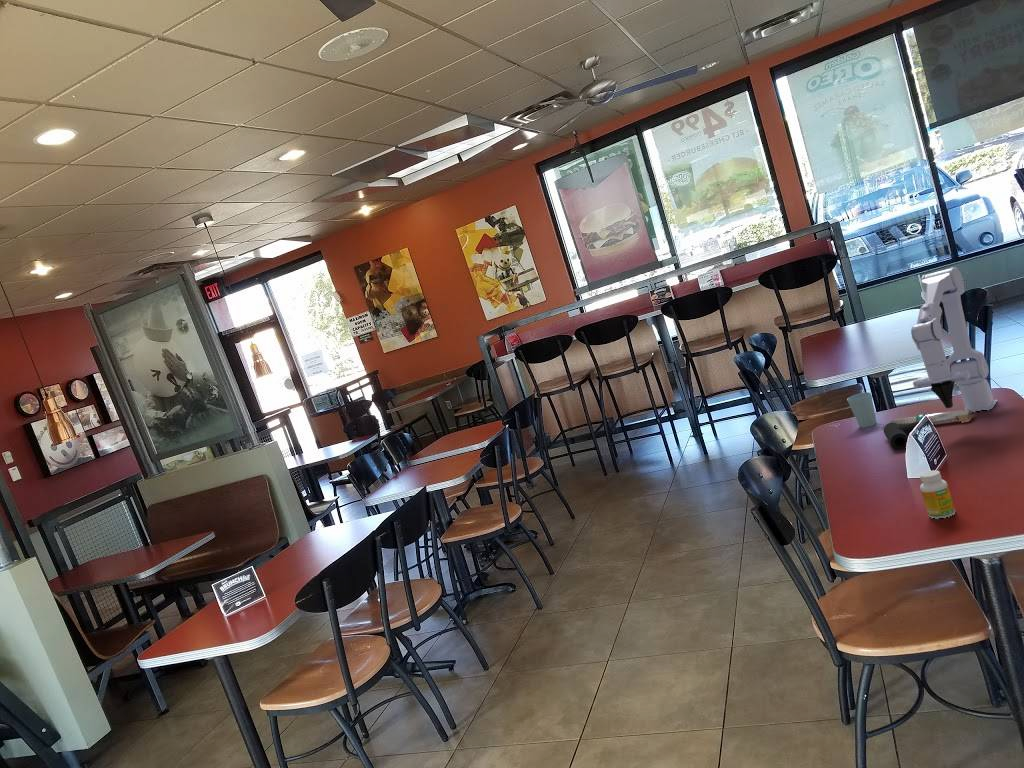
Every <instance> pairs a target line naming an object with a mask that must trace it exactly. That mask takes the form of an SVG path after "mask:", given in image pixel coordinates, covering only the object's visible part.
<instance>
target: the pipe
mask: <svg viewBox="0 0 1024 768" xmlns="http://www.w3.org/2000/svg"><path fill="white" fill-rule="evenodd" d="M923 416H927V417H929V419H930V420H931V421H932V423H933V424H932V425H934V424H935V423H936V424H940V423H939V422H943V423H945V422H944V421H950V422H953V421H952V420H958V421H959V422H960V421H966V420H969V419H970V418H971V417H972V416H973V417H974V414H973V413H972V411H971V410H969V409H965V408H964V409H956V410H952V411H951V410H950V411H944V412H937V413H931V414H926V413H925V414H918V415H916V416H910V417H904V418H903V417H902V418H897V419H890V421H889V423H891V422H894V423H897V424H899V425H900V426H902V425H906V424H910V423H914V422H917V421H919V420H920V419H921V418H922V417H923ZM936 424H935V425H936Z"/></svg>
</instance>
